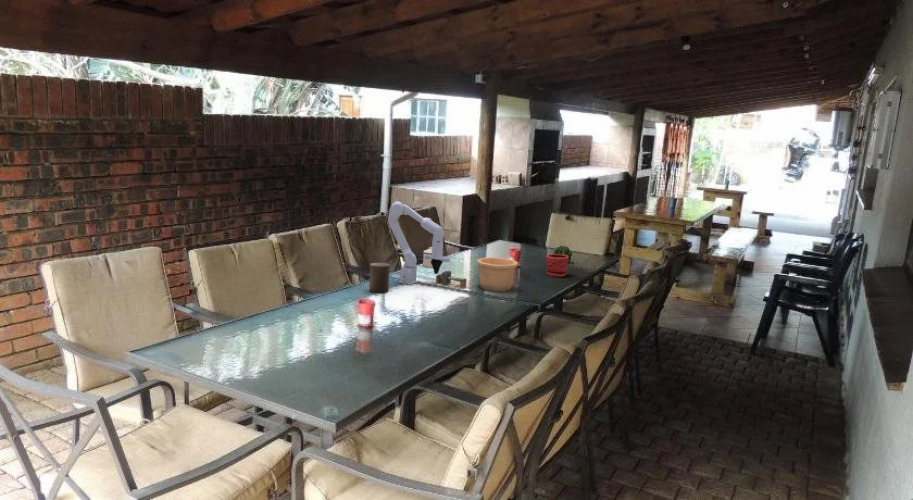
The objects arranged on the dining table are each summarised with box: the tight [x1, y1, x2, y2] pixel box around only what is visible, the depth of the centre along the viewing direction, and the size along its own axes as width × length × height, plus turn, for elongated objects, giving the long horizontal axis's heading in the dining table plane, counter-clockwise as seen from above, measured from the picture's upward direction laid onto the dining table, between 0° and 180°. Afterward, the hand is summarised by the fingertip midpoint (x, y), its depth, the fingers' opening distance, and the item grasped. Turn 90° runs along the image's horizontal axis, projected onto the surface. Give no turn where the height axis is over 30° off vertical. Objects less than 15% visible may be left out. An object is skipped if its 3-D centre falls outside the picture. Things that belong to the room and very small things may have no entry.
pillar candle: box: [369, 262, 390, 294], centre depth 329 cm, size 10×10×15 cm
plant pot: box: [545, 253, 569, 278], centre depth 389 cm, size 13×13×12 cm
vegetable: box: [552, 245, 573, 265], centre depth 427 cm, size 12×13×15 cm
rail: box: [433, 273, 468, 290], centre depth 350 cm, size 17×6×5 cm, turn 63°
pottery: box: [476, 256, 519, 292], centre depth 350 cm, size 22×22×14 cm
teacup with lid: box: [422, 246, 433, 269], centre depth 396 cm, size 12×9×12 cm
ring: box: [441, 270, 452, 285], centre depth 351 cm, size 2×6×6 cm, turn 152°
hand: (436, 273), depth 353 cm, fingers closed
